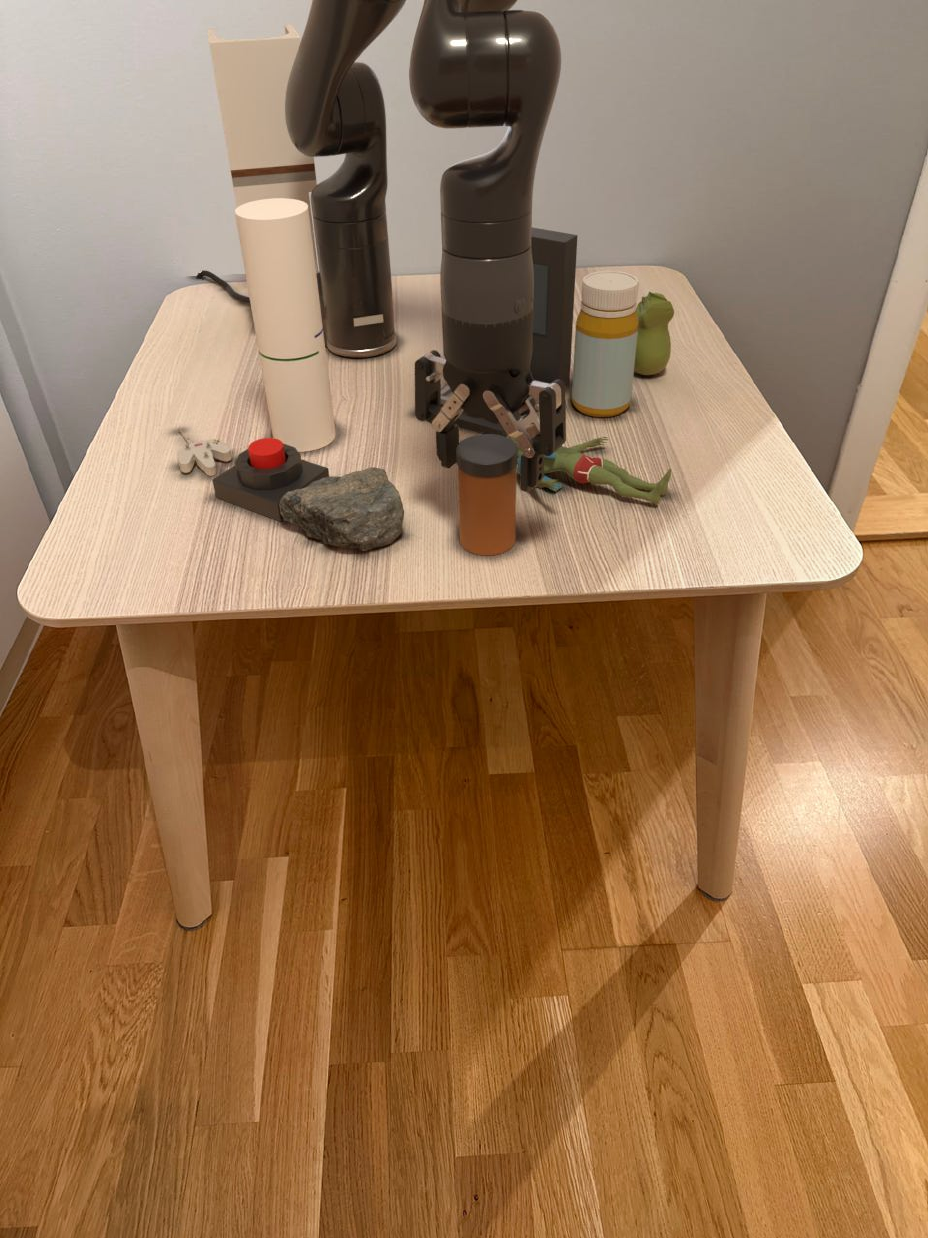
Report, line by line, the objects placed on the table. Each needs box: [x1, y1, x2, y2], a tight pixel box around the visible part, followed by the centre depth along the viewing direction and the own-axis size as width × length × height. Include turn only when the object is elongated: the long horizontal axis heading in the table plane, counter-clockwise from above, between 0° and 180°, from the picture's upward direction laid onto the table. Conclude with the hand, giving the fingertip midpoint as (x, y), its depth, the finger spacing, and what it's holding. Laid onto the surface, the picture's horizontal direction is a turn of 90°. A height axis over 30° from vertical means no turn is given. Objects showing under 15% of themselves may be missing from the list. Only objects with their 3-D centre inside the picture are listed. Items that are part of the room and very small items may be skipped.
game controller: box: [176, 428, 232, 477], centre depth 104 cm, size 6×12×3 cm, turn 49°
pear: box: [634, 291, 675, 376], centre depth 115 cm, size 6×5×10 cm
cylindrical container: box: [234, 198, 336, 453], centre depth 100 cm, size 7×7×25 cm
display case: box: [206, 24, 319, 273], centre depth 126 cm, size 11×11×35 cm
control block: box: [211, 444, 330, 522], centre depth 97 cm, size 9×8×4 cm
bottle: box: [571, 270, 640, 418], centre depth 107 cm, size 7×7×15 cm
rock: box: [279, 466, 405, 552], centre depth 91 cm, size 12×10×5 cm
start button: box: [247, 437, 286, 469], centre depth 96 cm, size 4×4×2 cm
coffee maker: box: [441, 226, 578, 437], centre depth 108 cm, size 16×12×18 cm
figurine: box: [508, 436, 672, 506], centre depth 97 cm, size 16×4×18 cm
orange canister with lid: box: [456, 433, 518, 556], centre depth 88 cm, size 7×6×10 cm
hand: (489, 475), depth 86 cm, fingers open, 8 cm apart
